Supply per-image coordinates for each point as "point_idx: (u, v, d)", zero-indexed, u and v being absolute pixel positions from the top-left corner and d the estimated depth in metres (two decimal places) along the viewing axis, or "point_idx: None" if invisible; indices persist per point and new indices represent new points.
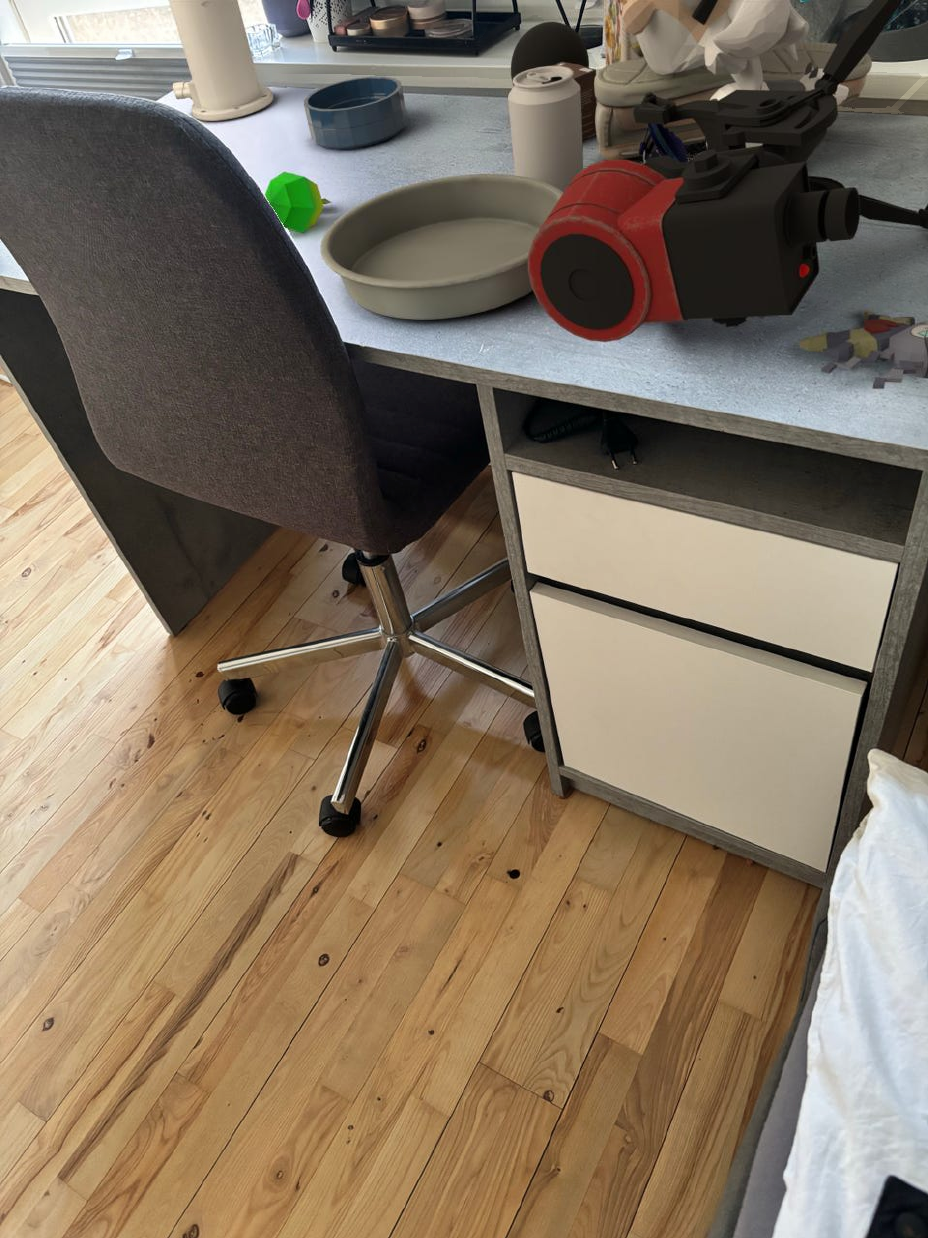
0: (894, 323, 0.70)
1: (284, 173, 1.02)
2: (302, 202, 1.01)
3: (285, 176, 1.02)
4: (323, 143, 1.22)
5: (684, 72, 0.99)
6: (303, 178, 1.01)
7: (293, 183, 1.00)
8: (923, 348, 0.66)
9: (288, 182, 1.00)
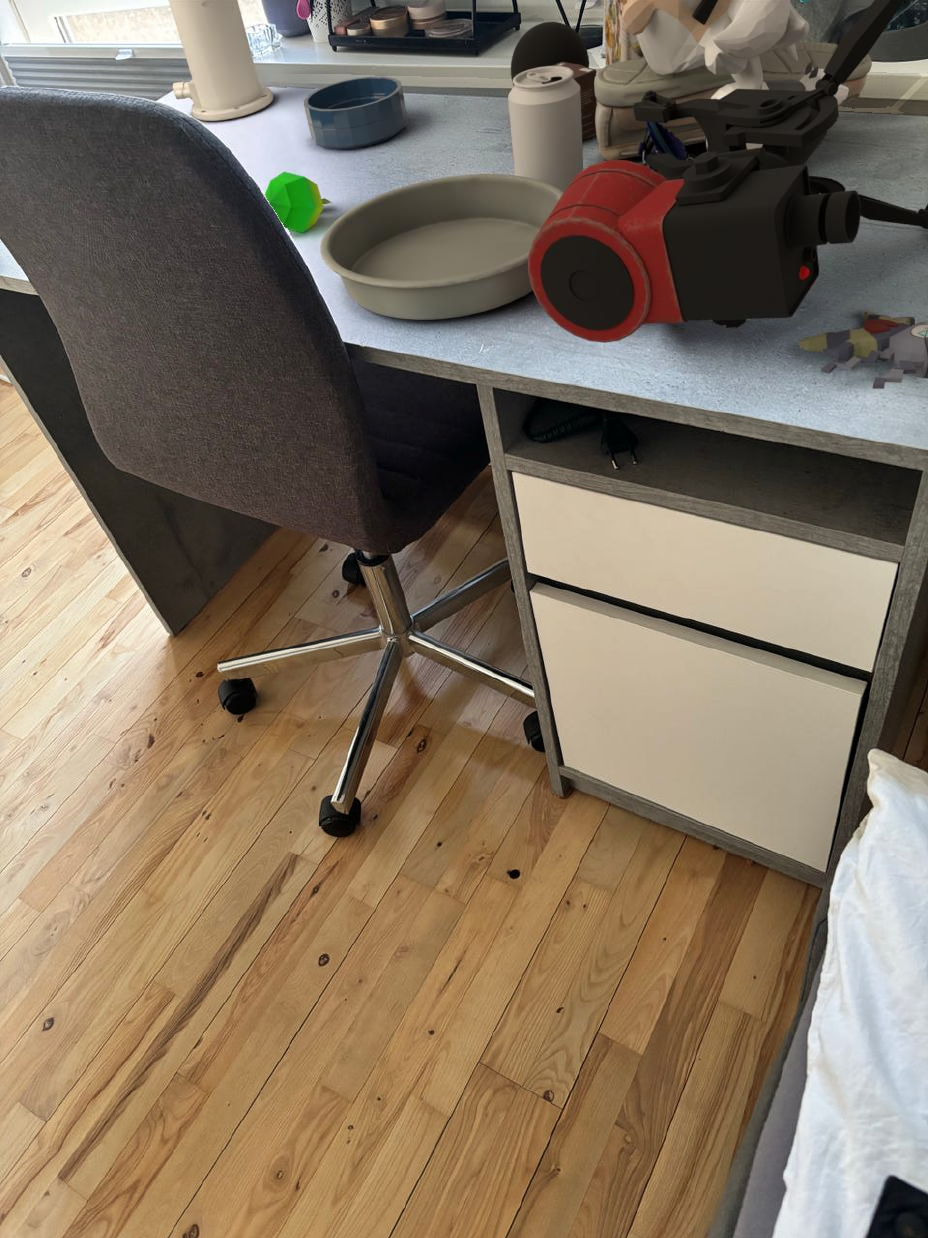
0: (894, 323, 0.70)
1: (284, 173, 1.02)
2: (302, 202, 1.01)
3: (285, 176, 1.02)
4: (323, 143, 1.22)
5: (684, 72, 0.99)
6: (303, 178, 1.01)
7: (293, 183, 1.00)
8: (923, 348, 0.66)
9: (288, 182, 1.00)
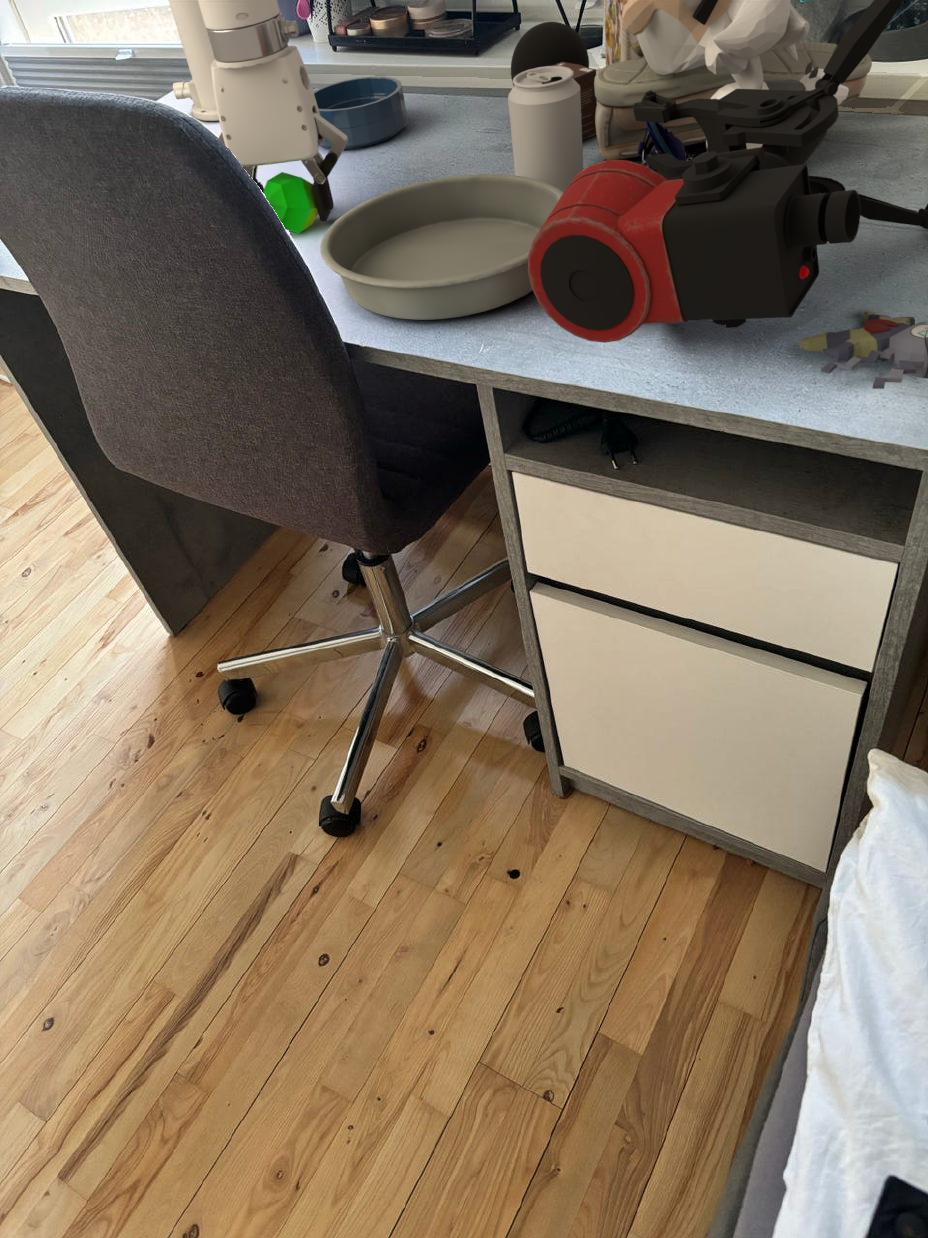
0: (894, 323, 0.70)
1: (281, 173, 1.02)
2: (298, 203, 1.01)
3: (282, 176, 1.02)
4: (323, 143, 1.22)
5: (684, 72, 0.99)
6: (300, 179, 1.01)
7: (289, 183, 1.00)
8: (923, 348, 0.66)
9: (285, 182, 1.00)
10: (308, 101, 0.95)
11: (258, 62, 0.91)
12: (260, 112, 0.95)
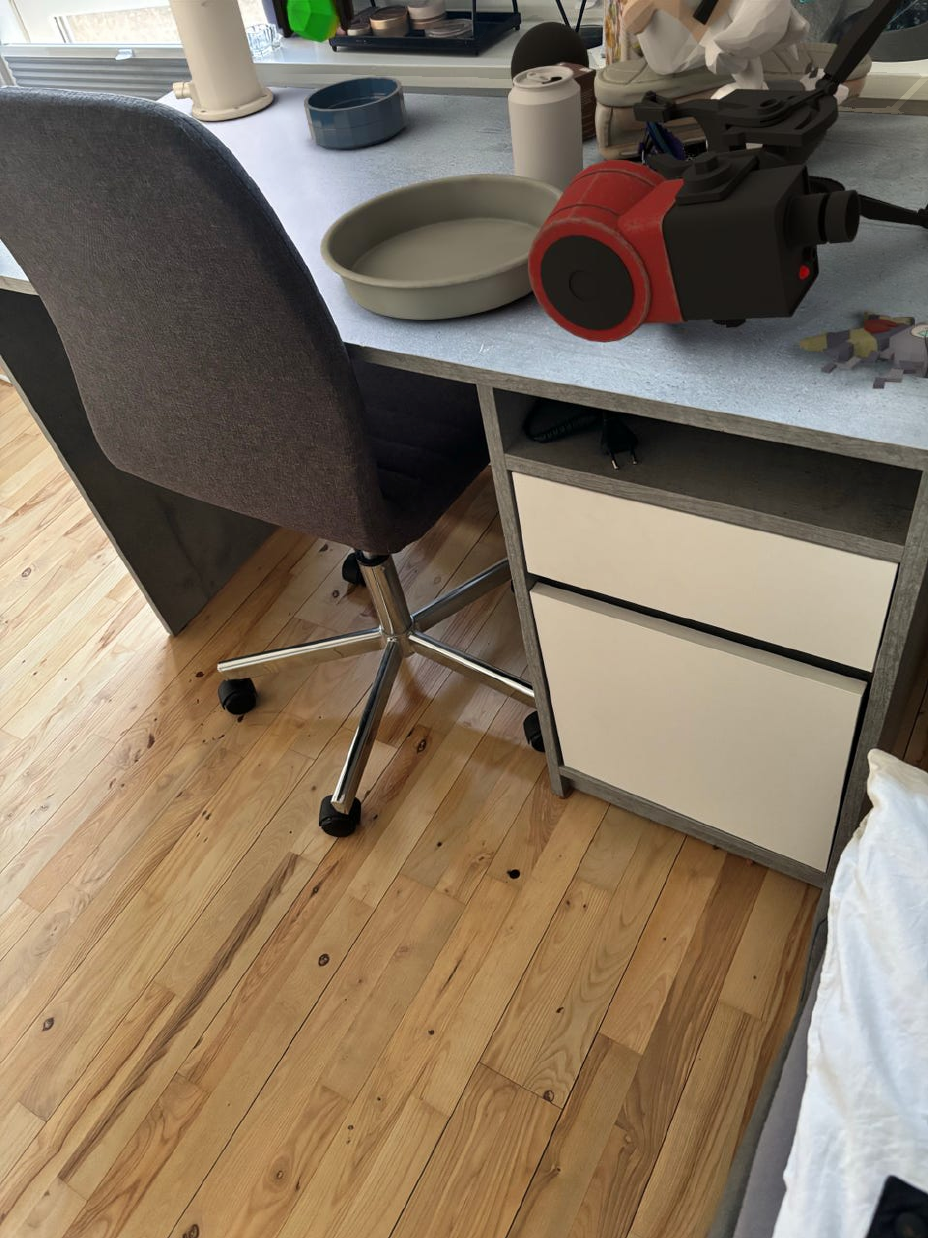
0: (894, 323, 0.70)
1: None
2: (321, 9, 1.07)
3: None
4: (323, 143, 1.22)
5: (684, 72, 0.99)
6: None
7: None
8: (923, 348, 0.66)
9: None
10: None
11: None
12: None
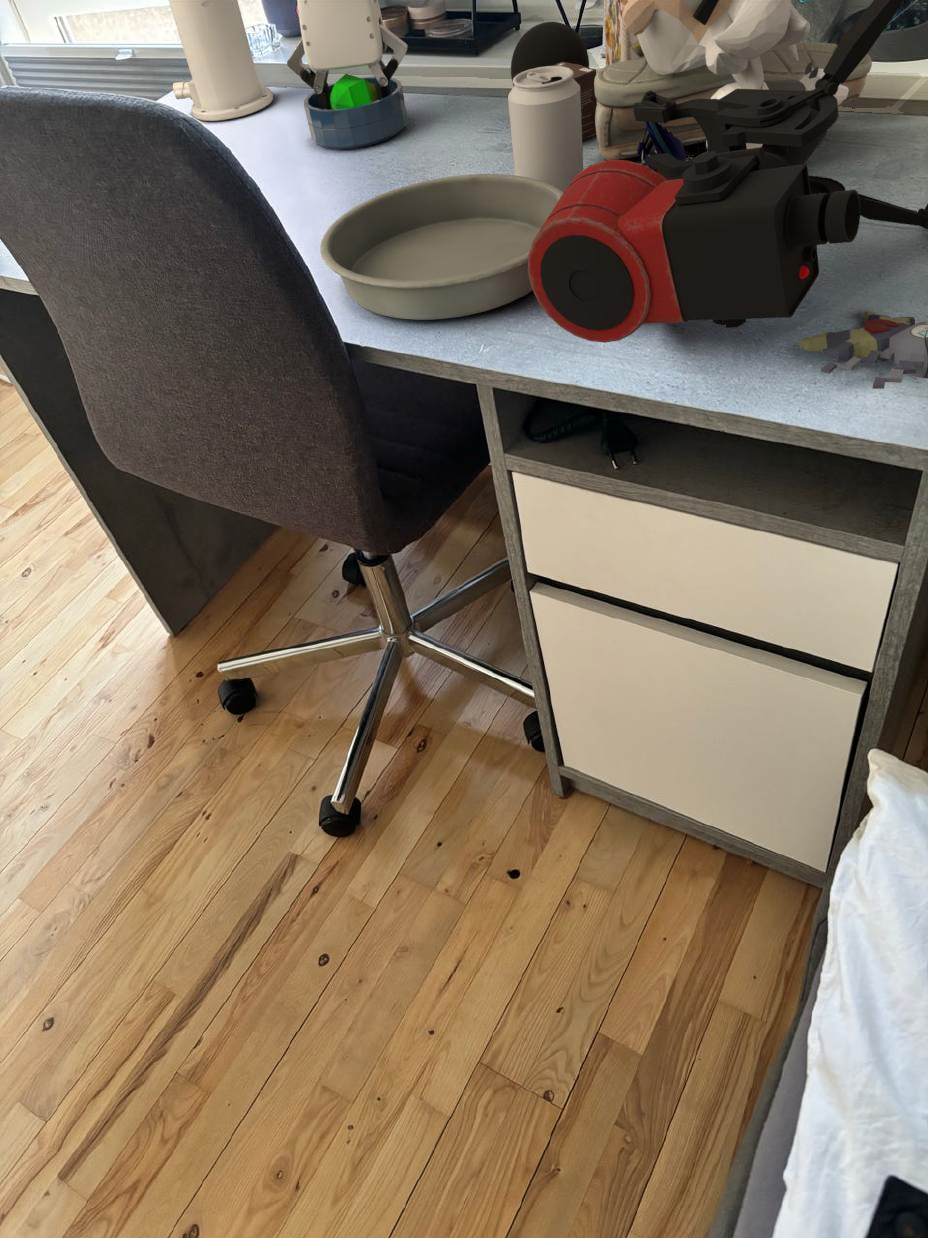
0: (894, 323, 0.70)
1: (346, 75, 1.21)
2: (362, 103, 1.20)
3: (347, 78, 1.20)
4: (323, 143, 1.22)
5: (684, 72, 0.99)
6: (363, 80, 1.19)
7: (355, 85, 1.19)
8: (923, 348, 0.66)
9: (351, 85, 1.19)
10: (376, 13, 1.14)
11: None
12: (336, 22, 1.14)
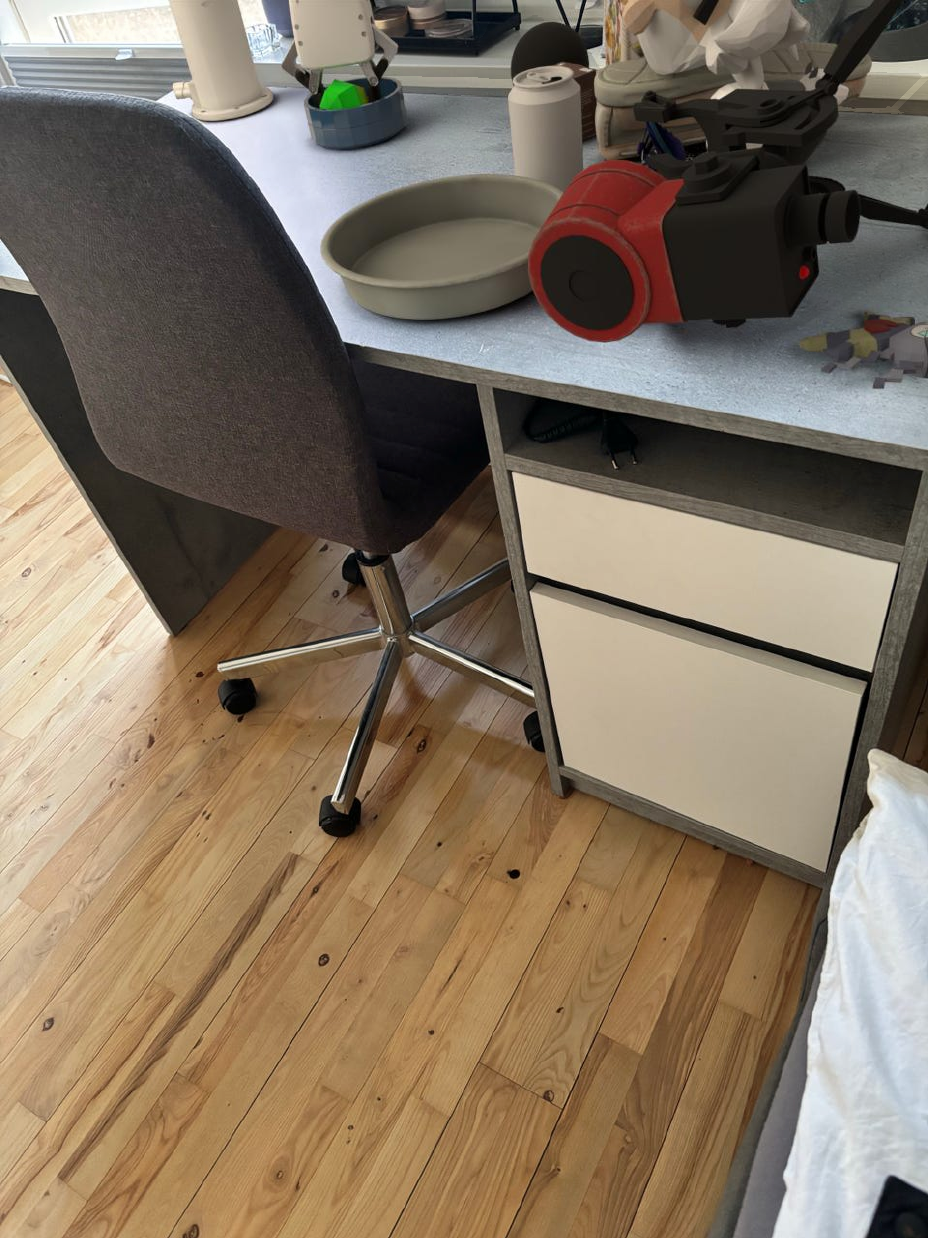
0: (894, 323, 0.70)
1: (335, 81, 1.20)
2: None
3: (336, 85, 1.20)
4: (323, 143, 1.22)
5: (684, 72, 0.99)
6: (352, 86, 1.19)
7: (344, 92, 1.19)
8: (923, 348, 0.66)
9: (340, 92, 1.19)
10: (367, 11, 1.14)
11: None
12: (328, 20, 1.14)
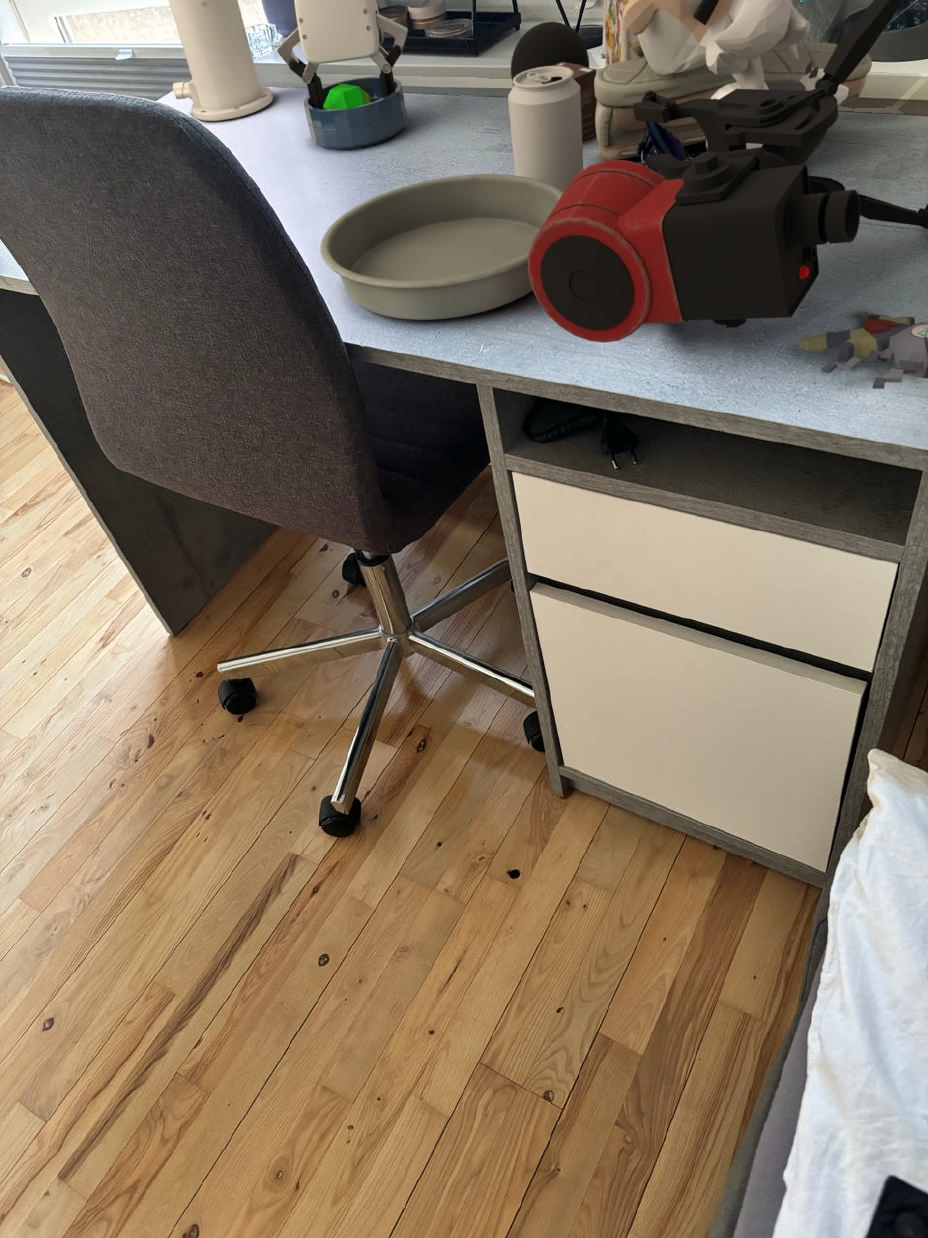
0: (894, 323, 0.70)
1: (341, 84, 1.21)
2: None
3: (342, 86, 1.21)
4: (323, 143, 1.22)
5: (684, 72, 0.99)
6: (358, 87, 1.20)
7: (350, 91, 1.19)
8: (923, 348, 0.66)
9: (346, 90, 1.19)
10: (372, 5, 1.14)
11: None
12: (332, 14, 1.14)
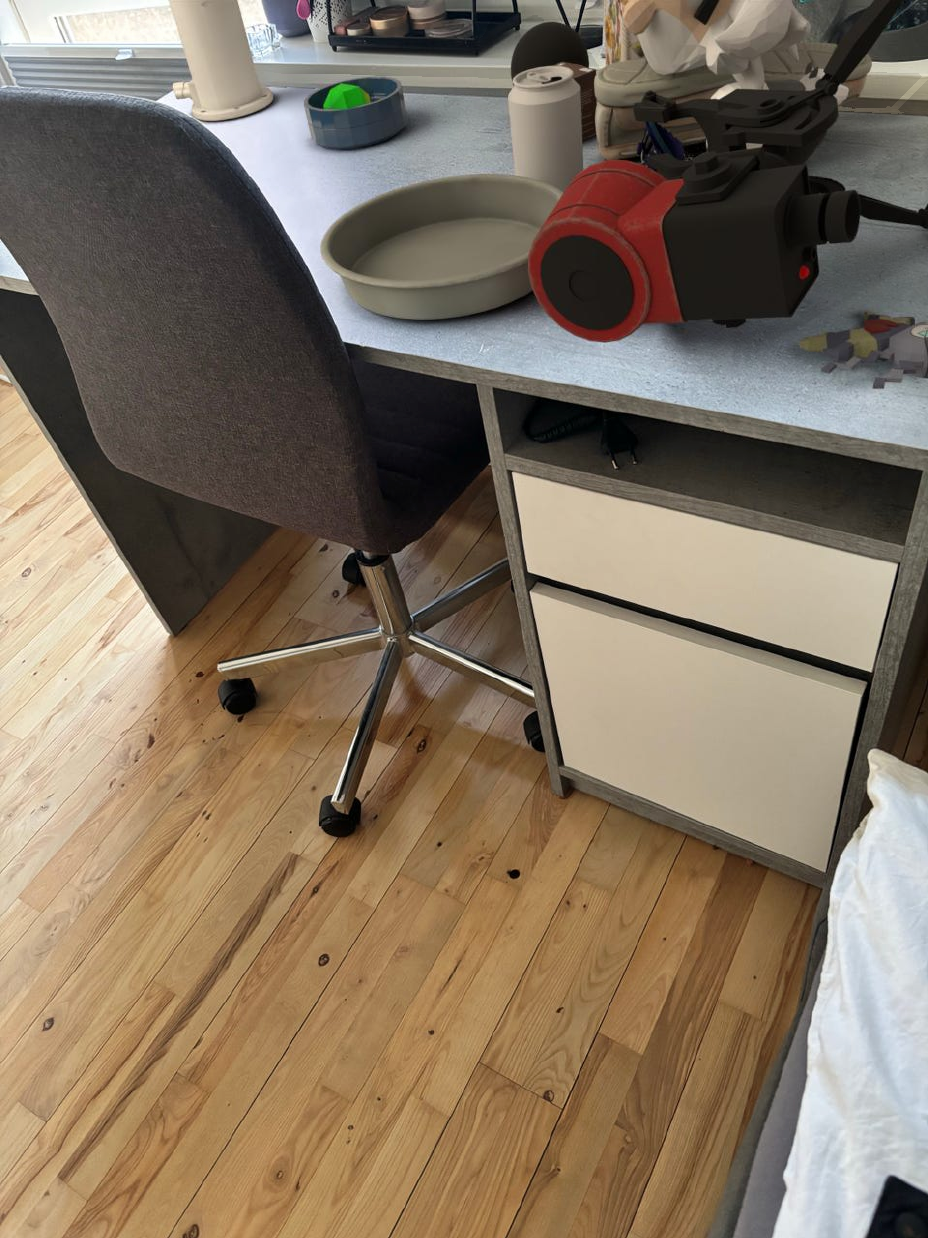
0: (894, 323, 0.70)
1: (341, 84, 1.21)
2: None
3: (342, 86, 1.21)
4: (323, 143, 1.22)
5: (684, 72, 0.99)
6: (358, 87, 1.20)
7: (350, 91, 1.19)
8: (923, 348, 0.66)
9: (346, 90, 1.19)
10: None
11: None
12: None
